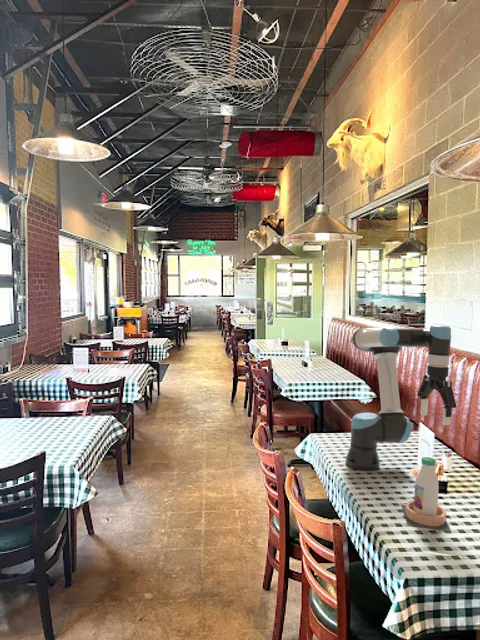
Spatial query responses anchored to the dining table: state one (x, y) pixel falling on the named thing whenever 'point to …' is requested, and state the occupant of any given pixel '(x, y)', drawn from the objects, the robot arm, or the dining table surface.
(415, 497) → the milk bottle
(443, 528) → the mat
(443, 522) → the bowl
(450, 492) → the dining table surface
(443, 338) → the robot arm
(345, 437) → the dining table surface
